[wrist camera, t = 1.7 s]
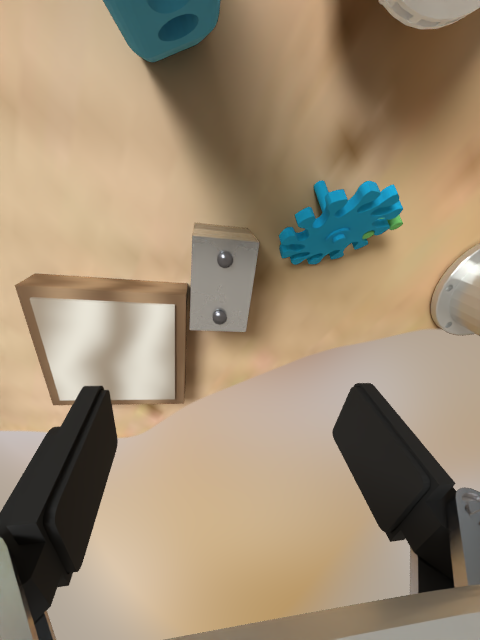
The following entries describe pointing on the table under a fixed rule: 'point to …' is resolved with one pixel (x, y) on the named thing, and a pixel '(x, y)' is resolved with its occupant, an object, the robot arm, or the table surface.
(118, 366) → the stand
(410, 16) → the mechanical part
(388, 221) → the gear
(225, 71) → the table surface
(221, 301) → the block
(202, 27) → the block
